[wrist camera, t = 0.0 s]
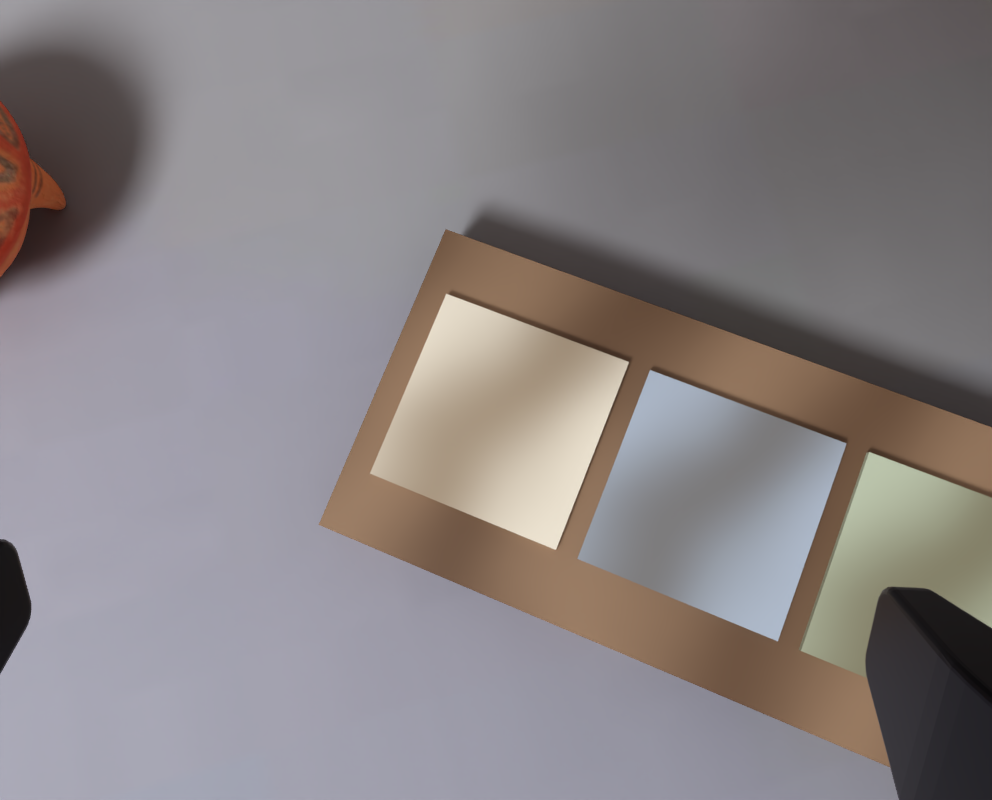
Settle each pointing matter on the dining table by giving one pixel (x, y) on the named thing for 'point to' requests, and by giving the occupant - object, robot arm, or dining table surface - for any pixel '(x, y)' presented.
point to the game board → (664, 486)
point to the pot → (20, 189)
